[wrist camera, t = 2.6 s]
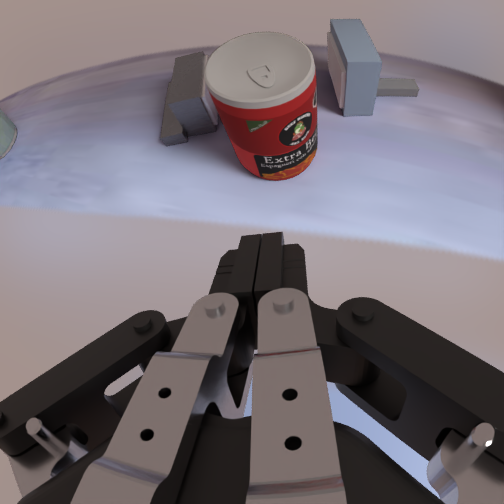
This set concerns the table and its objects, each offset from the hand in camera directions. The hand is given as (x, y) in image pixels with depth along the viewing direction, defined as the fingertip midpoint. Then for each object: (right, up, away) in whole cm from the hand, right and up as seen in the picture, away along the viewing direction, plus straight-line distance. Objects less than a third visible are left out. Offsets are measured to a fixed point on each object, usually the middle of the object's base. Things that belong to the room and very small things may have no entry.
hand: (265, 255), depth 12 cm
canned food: (+2, +10, +17) cm, 20 cm away
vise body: (-6, +16, +20) cm, 26 cm away
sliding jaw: (+13, +17, +17) cm, 27 cm away
